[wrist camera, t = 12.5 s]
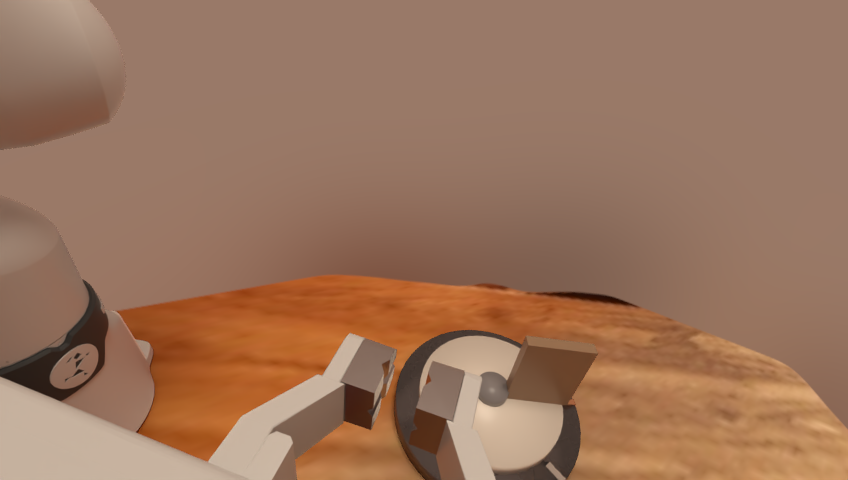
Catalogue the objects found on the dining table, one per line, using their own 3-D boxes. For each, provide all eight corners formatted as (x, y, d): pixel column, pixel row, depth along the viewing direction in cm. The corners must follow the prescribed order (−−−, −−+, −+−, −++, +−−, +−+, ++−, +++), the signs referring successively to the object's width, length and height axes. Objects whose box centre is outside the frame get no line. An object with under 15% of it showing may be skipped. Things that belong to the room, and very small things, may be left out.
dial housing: (364, 467, 39) (365, 456, 38) (423, 321, 56) (425, 311, 55) (577, 549, 36) (585, 540, 35) (572, 368, 53) (578, 358, 52)
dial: (414, 465, 38) (429, 403, 32) (421, 336, 51) (433, 275, 45) (580, 483, 39) (626, 426, 33) (546, 351, 52) (574, 293, 46)
